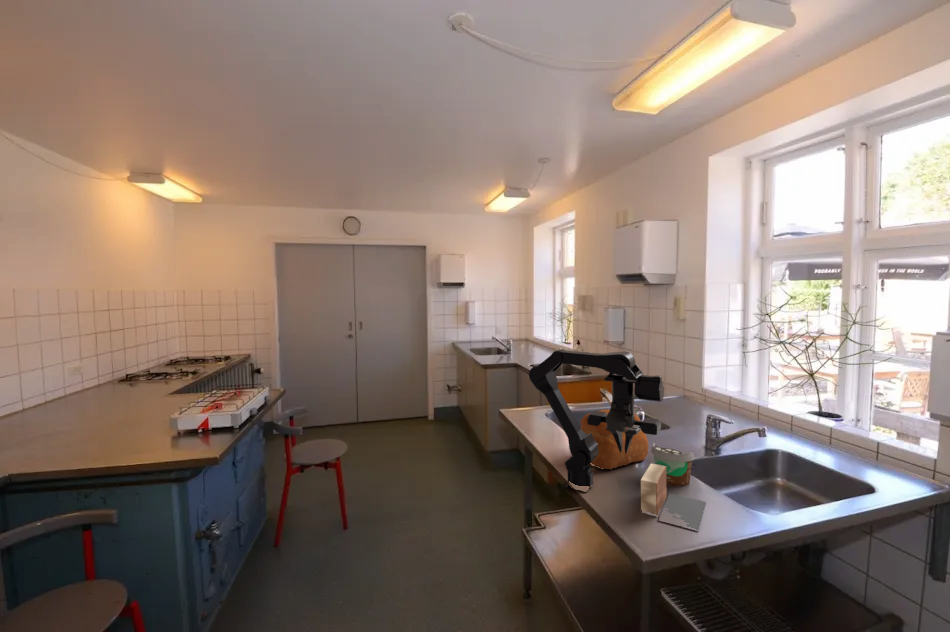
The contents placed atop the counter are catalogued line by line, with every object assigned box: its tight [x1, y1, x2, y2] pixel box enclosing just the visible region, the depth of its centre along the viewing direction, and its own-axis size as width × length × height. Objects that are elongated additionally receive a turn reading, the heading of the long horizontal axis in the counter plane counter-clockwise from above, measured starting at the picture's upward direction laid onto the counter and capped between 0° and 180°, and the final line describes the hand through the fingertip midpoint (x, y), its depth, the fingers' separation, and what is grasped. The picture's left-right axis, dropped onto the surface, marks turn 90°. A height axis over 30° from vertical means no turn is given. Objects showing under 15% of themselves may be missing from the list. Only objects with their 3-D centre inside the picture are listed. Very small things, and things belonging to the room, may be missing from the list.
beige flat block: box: [640, 463, 667, 516], centre depth 113 cm, size 4×12×9 cm, turn 145°
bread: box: [580, 408, 649, 470], centre depth 144 cm, size 18×21×17 cm
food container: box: [651, 442, 695, 487], centre depth 125 cm, size 12×6×10 cm, turn 45°
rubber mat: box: [663, 493, 707, 531], centre depth 109 cm, size 9×16×1 cm, turn 145°
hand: (623, 452), depth 117 cm, fingers closed
